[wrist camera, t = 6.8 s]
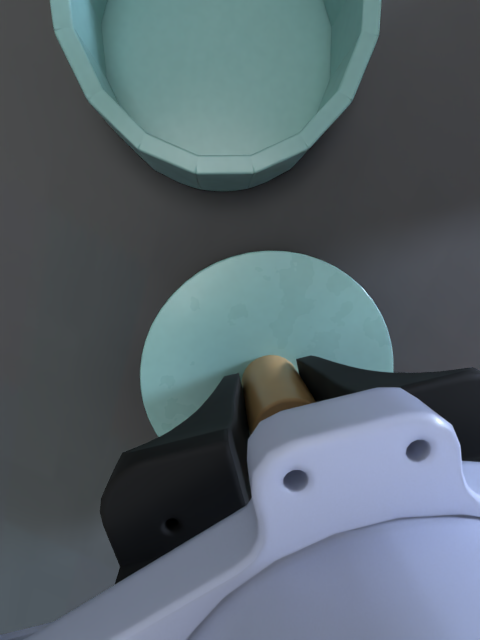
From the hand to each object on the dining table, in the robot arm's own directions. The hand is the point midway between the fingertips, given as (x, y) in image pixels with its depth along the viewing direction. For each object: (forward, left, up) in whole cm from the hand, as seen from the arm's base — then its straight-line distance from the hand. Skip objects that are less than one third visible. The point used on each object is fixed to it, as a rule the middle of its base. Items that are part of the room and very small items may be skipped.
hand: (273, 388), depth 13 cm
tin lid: (0, 0, -1) cm, 1 cm away
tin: (+7, -11, -3) cm, 13 cm away
